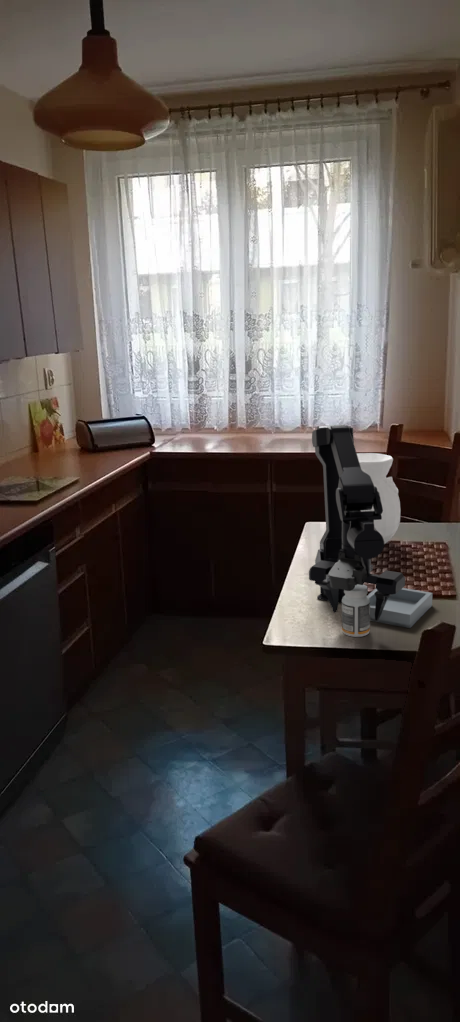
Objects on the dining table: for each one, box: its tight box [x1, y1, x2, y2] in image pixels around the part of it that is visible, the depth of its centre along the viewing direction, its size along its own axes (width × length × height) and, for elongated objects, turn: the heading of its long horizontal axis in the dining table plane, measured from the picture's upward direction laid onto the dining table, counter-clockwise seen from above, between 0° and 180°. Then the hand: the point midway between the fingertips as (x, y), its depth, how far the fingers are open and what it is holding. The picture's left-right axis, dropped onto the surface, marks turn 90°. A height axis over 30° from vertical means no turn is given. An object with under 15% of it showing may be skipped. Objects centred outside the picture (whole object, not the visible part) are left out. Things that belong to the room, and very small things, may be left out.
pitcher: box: [356, 452, 402, 545], centre depth 214 cm, size 19×18×25 cm
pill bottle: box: [341, 583, 371, 638], centre depth 160 cm, size 6×6×10 cm
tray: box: [366, 587, 433, 629], centre depth 170 cm, size 12×14×3 cm
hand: (355, 616), depth 160 cm, fingers open, 9 cm apart
